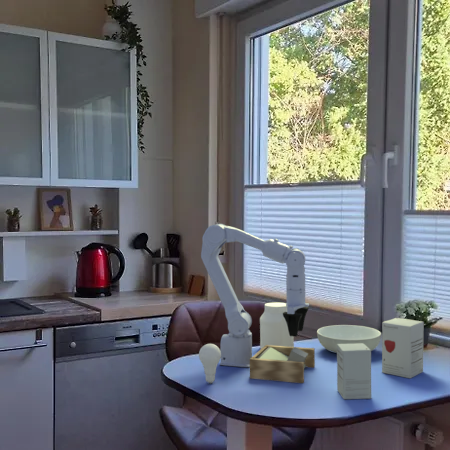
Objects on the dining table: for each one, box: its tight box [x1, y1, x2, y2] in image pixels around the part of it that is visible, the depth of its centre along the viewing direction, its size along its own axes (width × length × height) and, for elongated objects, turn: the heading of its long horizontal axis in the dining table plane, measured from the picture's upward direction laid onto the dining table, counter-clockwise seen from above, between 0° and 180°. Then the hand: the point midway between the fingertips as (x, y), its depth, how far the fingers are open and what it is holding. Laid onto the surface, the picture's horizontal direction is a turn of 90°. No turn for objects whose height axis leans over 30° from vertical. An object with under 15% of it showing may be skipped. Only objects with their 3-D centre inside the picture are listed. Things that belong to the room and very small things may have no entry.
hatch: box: [257, 347, 306, 369], centre depth 173 cm, size 12×13×1 cm
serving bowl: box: [316, 324, 382, 354], centre depth 195 cm, size 21×21×7 cm
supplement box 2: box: [381, 317, 425, 379], centre depth 171 cm, size 9×9×15 cm
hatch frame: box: [249, 345, 316, 384], centre depth 172 cm, size 15×17×6 cm
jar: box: [259, 301, 295, 350], centre depth 201 cm, size 12×10×15 cm
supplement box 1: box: [336, 343, 372, 400], centre depth 152 cm, size 7×7×13 cm
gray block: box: [287, 346, 308, 363], centre depth 171 cm, size 4×4×5 cm
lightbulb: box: [198, 343, 221, 384], centre depth 163 cm, size 6×6×11 cm
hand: (296, 333), depth 179 cm, fingers open, 7 cm apart
